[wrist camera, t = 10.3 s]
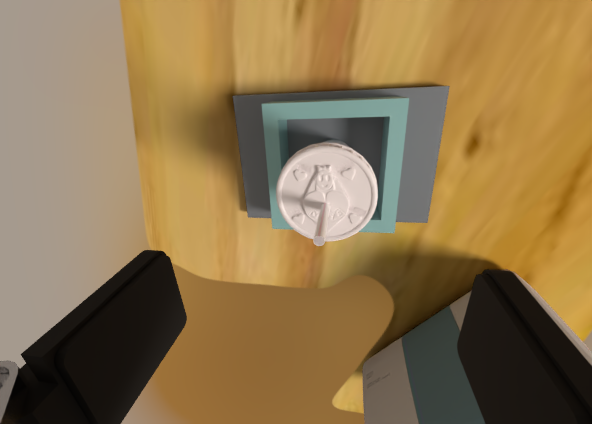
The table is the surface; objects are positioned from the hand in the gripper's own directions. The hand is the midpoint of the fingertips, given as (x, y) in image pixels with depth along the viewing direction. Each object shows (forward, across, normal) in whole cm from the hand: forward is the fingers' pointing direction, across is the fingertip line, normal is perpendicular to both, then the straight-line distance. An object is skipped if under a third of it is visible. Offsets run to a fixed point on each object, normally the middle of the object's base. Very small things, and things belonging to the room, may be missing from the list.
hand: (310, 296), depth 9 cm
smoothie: (+19, 0, +1) cm, 19 cm away
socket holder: (+20, 0, +1) cm, 20 cm away
